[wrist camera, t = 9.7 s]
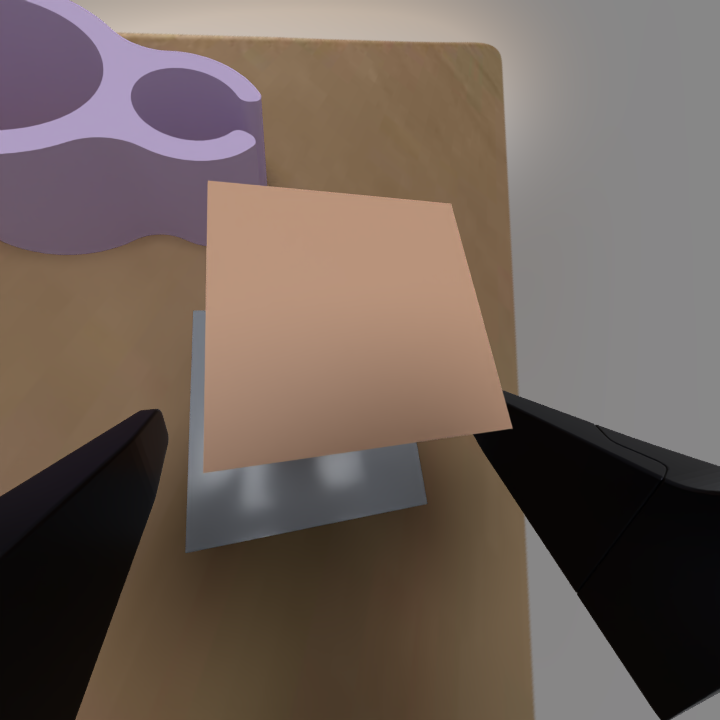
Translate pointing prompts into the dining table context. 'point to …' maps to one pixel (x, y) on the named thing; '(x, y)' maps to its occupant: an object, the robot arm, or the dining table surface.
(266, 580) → the dining table surface
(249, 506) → the plate
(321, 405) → the tan block
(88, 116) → the clip
